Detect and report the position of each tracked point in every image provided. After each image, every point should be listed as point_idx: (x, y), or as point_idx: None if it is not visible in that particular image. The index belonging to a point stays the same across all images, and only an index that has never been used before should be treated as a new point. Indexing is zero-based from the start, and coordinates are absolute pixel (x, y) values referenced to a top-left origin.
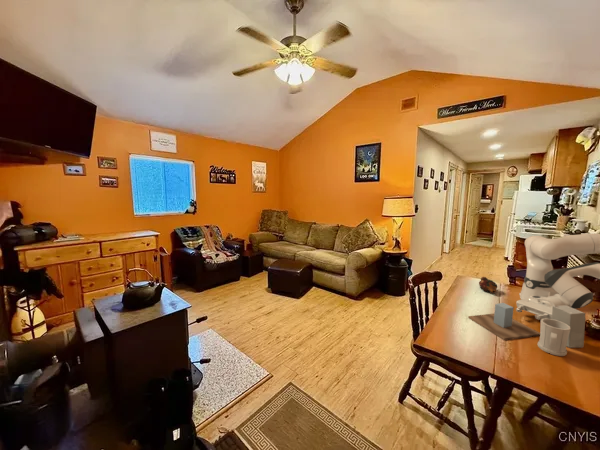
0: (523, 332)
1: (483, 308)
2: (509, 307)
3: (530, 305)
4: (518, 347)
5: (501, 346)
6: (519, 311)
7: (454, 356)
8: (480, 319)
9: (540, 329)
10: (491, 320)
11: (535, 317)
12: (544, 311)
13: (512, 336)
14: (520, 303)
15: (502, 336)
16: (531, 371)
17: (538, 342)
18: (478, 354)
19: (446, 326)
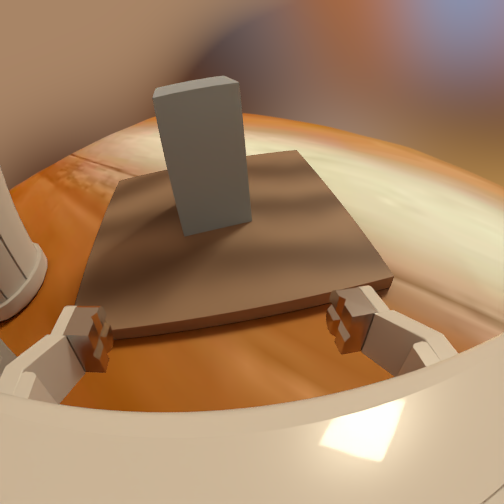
0: (113, 252)
1: (443, 237)
2: (160, 92)
3: (380, 421)
4: (78, 205)
5: (105, 176)
6: (329, 316)
7: (126, 128)
8: (268, 166)
9: (8, 191)
10: (258, 190)
11: (104, 323)
12: (22, 401)
13: (113, 202)
14: (485, 343)
15: (128, 180)
16: (30, 193)
17: (38, 248)
18: (111, 145)
19: None
